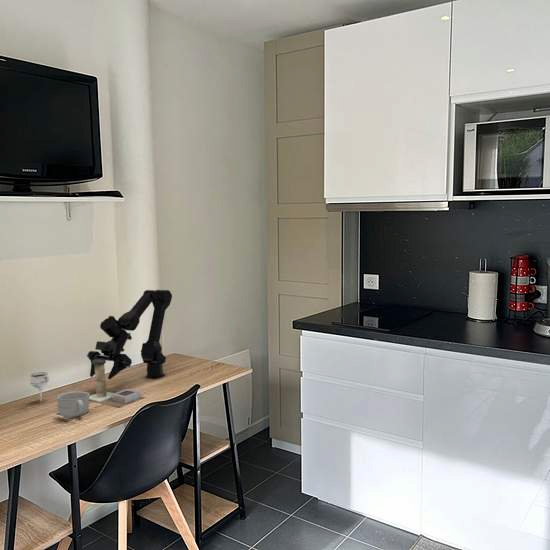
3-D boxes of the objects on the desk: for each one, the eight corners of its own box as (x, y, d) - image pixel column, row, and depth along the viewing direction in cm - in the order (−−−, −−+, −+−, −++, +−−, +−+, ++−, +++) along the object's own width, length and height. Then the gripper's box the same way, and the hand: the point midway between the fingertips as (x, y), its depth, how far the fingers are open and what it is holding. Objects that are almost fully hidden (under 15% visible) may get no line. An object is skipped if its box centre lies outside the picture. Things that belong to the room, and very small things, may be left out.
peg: (105, 393, 218) (103, 357, 216) (109, 395, 214) (107, 359, 213) (93, 395, 215) (90, 359, 214) (97, 398, 211) (94, 362, 210)
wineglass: (33, 409, 207) (30, 378, 206) (30, 404, 213) (27, 374, 212) (52, 405, 211) (50, 374, 210) (48, 400, 217) (46, 371, 215)
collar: (127, 394, 216) (127, 388, 216) (141, 398, 212) (140, 391, 211) (111, 400, 210) (111, 394, 209) (125, 404, 205) (124, 397, 205)
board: (108, 392, 224) (108, 389, 224) (145, 400, 212) (145, 397, 212) (81, 401, 214) (81, 398, 214) (118, 411, 201) (118, 408, 201)
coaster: (103, 392, 221) (103, 391, 221) (118, 395, 216) (118, 394, 215) (84, 398, 213) (84, 397, 213) (99, 402, 208) (99, 401, 208)
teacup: (57, 414, 200) (55, 393, 200) (88, 408, 205) (86, 388, 204) (61, 427, 188) (59, 404, 187) (94, 420, 193) (92, 398, 192)
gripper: (88, 331, 220) (69, 365, 212) (124, 334, 212) (106, 369, 204) (103, 345, 228) (86, 379, 220) (139, 349, 220) (122, 383, 212)
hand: (99, 377), depth 213 cm, fingers open, 9 cm apart
